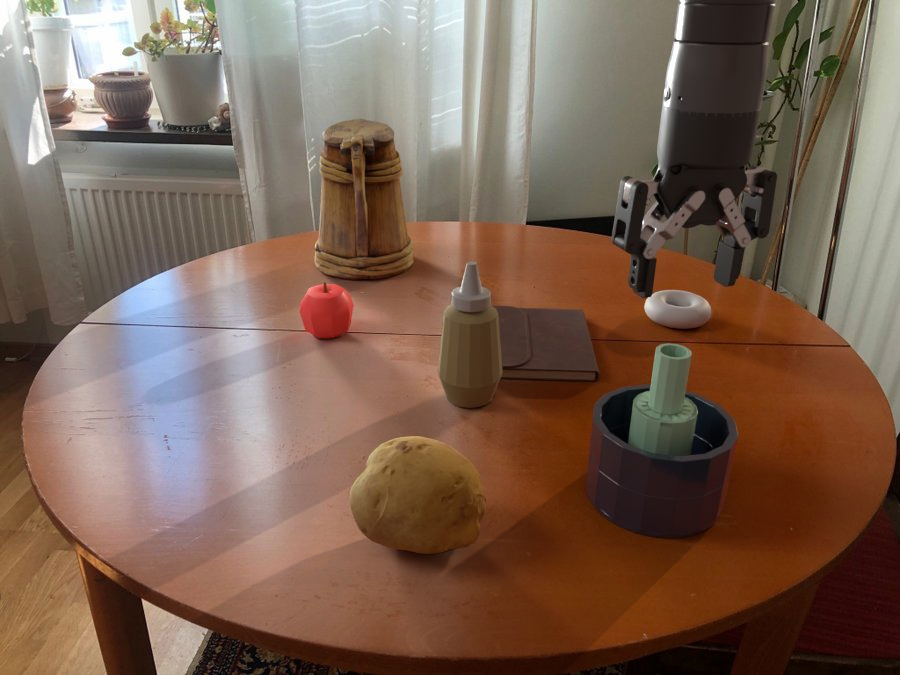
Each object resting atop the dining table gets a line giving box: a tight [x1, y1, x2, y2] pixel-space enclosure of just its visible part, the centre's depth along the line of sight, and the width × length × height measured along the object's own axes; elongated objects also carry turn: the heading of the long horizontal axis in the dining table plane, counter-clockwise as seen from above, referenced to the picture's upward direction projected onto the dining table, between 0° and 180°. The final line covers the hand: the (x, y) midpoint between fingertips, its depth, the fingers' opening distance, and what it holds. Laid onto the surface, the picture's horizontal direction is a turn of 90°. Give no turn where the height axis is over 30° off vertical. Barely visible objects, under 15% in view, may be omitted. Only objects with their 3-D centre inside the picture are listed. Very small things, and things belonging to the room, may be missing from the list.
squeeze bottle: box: [437, 261, 503, 409], centre depth 90 cm, size 8×8×18 cm
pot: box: [585, 384, 739, 539], centre depth 74 cm, size 14×14×9 cm
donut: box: [643, 289, 712, 330], centre depth 114 cm, size 10×4×10 cm
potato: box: [348, 435, 487, 555], centre depth 69 cm, size 10×12×10 cm
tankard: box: [313, 117, 415, 281], centre depth 129 cm, size 18×24×25 cm
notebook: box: [492, 305, 601, 382], centre depth 106 cm, size 15×20×2 cm
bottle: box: [628, 342, 698, 456], centre depth 73 cm, size 6×6×16 cm
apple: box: [299, 281, 355, 340], centre depth 109 cm, size 8×8×8 cm
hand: (683, 289), depth 66 cm, fingers open, 8 cm apart
